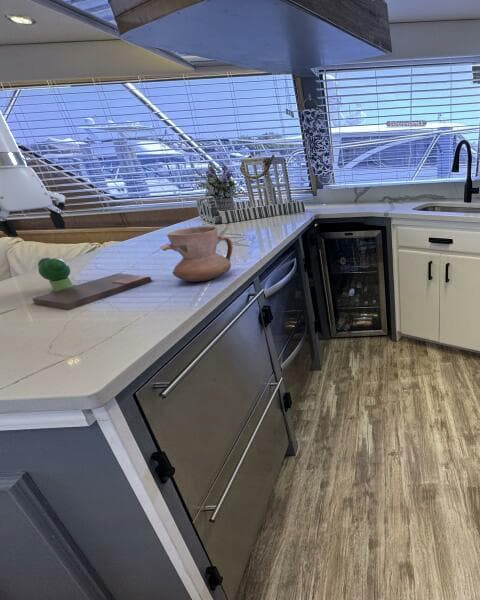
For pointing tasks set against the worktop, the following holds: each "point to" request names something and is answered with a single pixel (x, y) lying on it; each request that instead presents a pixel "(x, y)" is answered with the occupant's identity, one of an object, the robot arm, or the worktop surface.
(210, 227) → the ceramic jug
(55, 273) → the broccoli
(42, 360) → the worktop surface
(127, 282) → the cutting board
